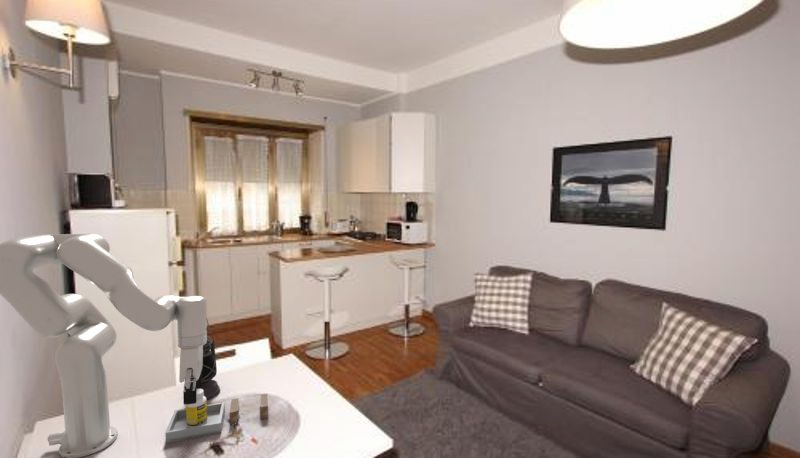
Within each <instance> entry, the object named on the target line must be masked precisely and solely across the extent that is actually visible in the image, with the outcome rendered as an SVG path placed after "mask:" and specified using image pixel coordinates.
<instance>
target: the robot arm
mask: <svg viewBox="0 0 800 458" xmlns="http://www.w3.org/2000/svg"><path fill="white" fill-rule="evenodd" d="M110 247H111V246H110V243H109V242H108V240H107V239H105V237H103V236H101V235H99V234H97V233H77V234H76V233H65V234H64V233H63V234H62V233H60V234H59V233H56V234H55V233H54V234H52V233H49V234H48V233H47V234H37V235H36V234H35V235H30V236H23V237H17V238H13V239H9V240H6V241H3V242H1V243H0V296H1V297H2V298H4V299H5V300H6V302H8V303H9V304H10V306H11V307H12V308H13V309H14V310H15V311H16V312H17V314H18V315H20V317H21V318H22V319H23V320H24V321H25V322H26V323H27V324H28V325H29V326H30V327H31V328H32V329H33V331H34V332H35V333H36V334H38V335H40V336H41V337H43V338H47V339H49V338H51V339H53V338H57V337H60V336H62V335H64V334H66V333H68V334H69V335H70V336H68V337H67V338H66V339H64V341H62V342H61V344H60V345H59V346H58V348H57V350H56V352H55V356H54V357H55V358H54V359H55V360H54V361H55V367H56V368H57V372H58V375H59V379H60V384H61V395H62V407H63V421H64V431H63V432H57V433H50V434H49V435H48V436H47V442H48V446H55V445H60V447H59V449H58V453H59V454H58V455H59V456H60V455H61V458H64V457H66V458H82V457H86V456H89V455H92V454H96V453H98V452H100V451H102V450H103V449H105V448H107V447H109V446H110V445H111V444H112V443H113V442H114V441H116V440H117V437H118V434H119V433H118V429H117V428H116V427H114V426H111V422H110V419H111V418H110V408H109V407H110V406H109V405H110V404H109V395H108V394H109V393H108V382H107V381H108V380H107V374H106V373H107V372H106V369H105V366H104V364H103V357H104V356H105V355H106V354H107V353H108V352H109V351H110V350H111V349H112V348H113V347H114V346H115V343H117V332H116V329H115V328H114V326H113V325H112V324H111V322H110V321H109V320H108V319H107V318H106V317H105V316H104V314H102V312H101V311H100V310H99V309H98V308H97V307H96V306H95V304H94V303H92V301H90V299H88V298H86V297H85V296H83V295H80V294H78V293H66V294H62V295H60V294H59V293H58V292H57V291H55V289H54V288H53V287H52V286H51V284H50V283H49V282H48V281H46V280H45V279H44V278H42V277H40V276H39V275H37V274H36V273H35V272H34V271H33V270H34V269H37V268H39V267H40V268H41V267H44V266H48V265H59V264H61V265H62V264H63V265H64V266H65V267H67V268H68V269H69V270H71V271H73V273H76V274H77V275H78V276H80V277H82V279H84V280H86V281H88V282H89V283H90V284H92V285H93V286H95V287H96V288H97V289H99V290H100V291H102V292H103V293H104V294H105V295H106V297H107V299H108V300H109V302H110V303H111V304H112V306H113V307H114V308H115V309H116V311H118V312H119V313H120V314H121V315H122V316H123V317H125V318H126V319H127V320H129V321H130V322H132V323H134V324H135V325H136V326H138V327H140V328H141V329H144V330H146V331H150V332H157V331H159V332H160V331H161V330H163V329H165V328H167V327H168V326H169V325H170V324H171V323H172V322H173V321H175V320H176V321H177V347H178V348H180V355H179V378H178V382H179V383H181V384H182V383H183V384H184V385H183V397H182V398H183V401H182V402H183V405H185V406H186V405H187V404H195V403H196V401H197V399H196V389H195V388H198V387H201V386H202V374H201V371H202V366H203V345H205V344H206V343H207V336H208V333H207V332H208V330H207V329H208V324H207V320H208V317H207V316H208V314H207V313H208V312H207V311H208V310H207V304H208V303H207V300H206V298H205V297H204V296H203V295H202V296H201V295H190V296H175V295H160V296H158V297H157V298H155V299H152V297H149V296H148V295H147V294H146V293H144V292H143V291H142V290H141V288H139V286H138V285H137V283H136V282H135V276H134V272H133V270H132V268H131V267H130V266H129V265H128V264H126V263H124V262H123V261H121V259H119V258H117V257H116V256H114V255H113V254H112V253H110V250H111V249H110Z"/></svg>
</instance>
